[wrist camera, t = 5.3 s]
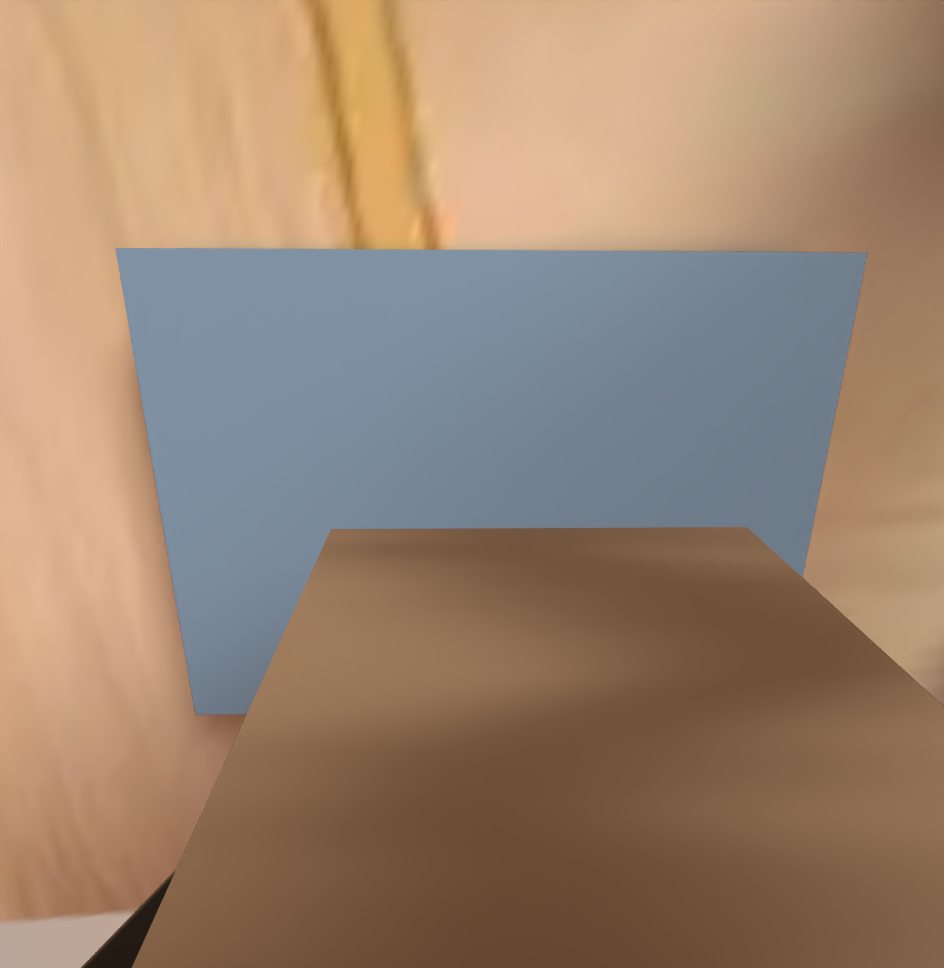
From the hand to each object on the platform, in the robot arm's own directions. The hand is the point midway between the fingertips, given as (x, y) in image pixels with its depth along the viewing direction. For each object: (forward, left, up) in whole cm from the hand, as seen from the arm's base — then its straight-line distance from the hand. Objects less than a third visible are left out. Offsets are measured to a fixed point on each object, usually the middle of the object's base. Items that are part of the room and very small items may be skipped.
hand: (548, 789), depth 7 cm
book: (0, 0, -13) cm, 13 cm away
